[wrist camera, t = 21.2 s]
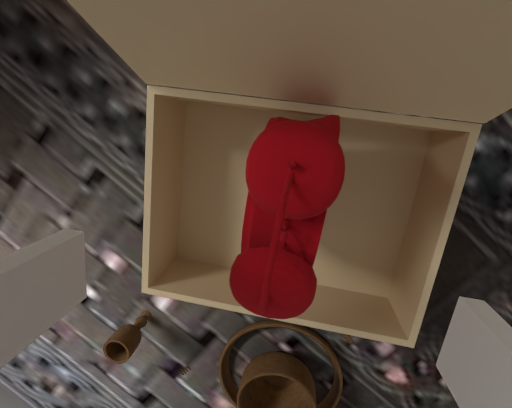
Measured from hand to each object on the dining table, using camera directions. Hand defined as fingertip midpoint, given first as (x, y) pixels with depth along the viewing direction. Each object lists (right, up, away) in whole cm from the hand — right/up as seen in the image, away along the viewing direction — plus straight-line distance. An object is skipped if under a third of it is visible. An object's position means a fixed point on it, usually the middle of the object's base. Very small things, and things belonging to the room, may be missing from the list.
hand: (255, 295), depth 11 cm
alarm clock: (+5, +5, +14) cm, 15 cm away
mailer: (+3, +4, +15) cm, 16 cm away
